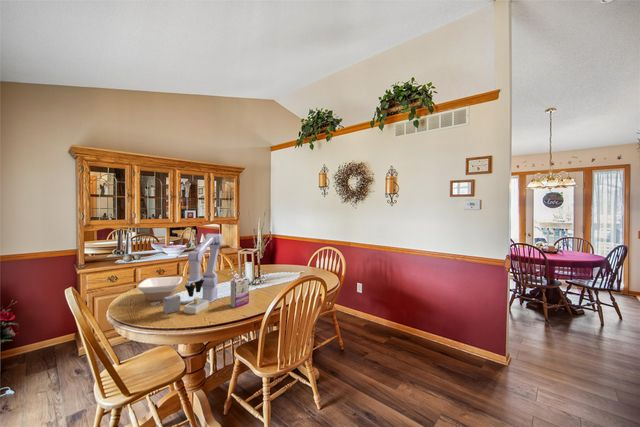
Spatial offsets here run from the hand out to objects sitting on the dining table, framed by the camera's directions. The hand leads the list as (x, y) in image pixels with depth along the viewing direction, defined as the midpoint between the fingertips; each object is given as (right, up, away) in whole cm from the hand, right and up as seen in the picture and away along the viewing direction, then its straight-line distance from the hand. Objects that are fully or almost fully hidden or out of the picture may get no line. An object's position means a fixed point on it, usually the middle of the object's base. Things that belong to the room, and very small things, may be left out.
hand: (194, 294), depth 162 cm
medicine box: (-13, -10, -2) cm, 16 cm away
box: (0, -10, +2) cm, 10 cm away
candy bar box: (+23, -10, +12) cm, 28 cm away
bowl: (-32, -8, +21) cm, 39 cm away
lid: (+1, -7, +1) cm, 7 cm away
